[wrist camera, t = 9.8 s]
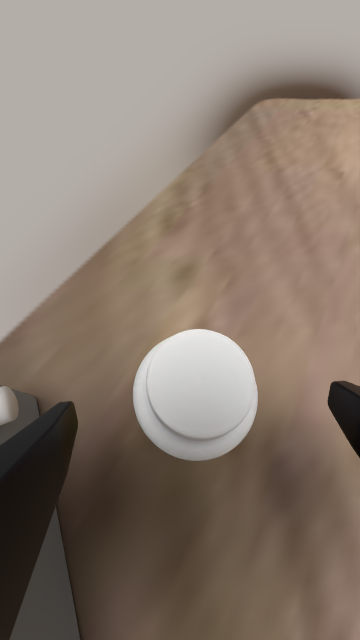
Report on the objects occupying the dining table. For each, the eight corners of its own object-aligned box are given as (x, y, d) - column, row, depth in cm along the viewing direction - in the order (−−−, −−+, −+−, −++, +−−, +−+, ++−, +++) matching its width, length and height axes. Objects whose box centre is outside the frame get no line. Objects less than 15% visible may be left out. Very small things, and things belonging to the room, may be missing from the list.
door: (108, 695, 13) (-7, 1161, 4) (49, 732, 12) (-202, 1337, 4) (47, 392, 18) (-51, 353, 10) (6, 408, 18) (-132, 380, 10)
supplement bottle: (133, 431, 18) (91, 421, 9) (166, 359, 20) (162, 289, 11) (209, 468, 17) (253, 500, 8) (235, 389, 19) (294, 340, 10)
